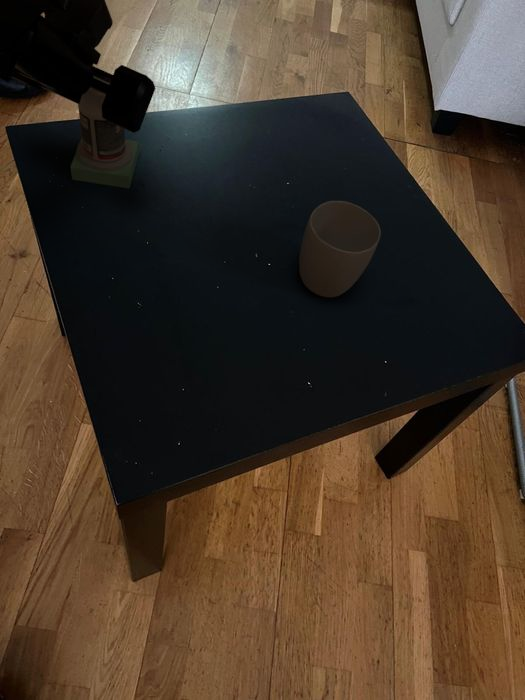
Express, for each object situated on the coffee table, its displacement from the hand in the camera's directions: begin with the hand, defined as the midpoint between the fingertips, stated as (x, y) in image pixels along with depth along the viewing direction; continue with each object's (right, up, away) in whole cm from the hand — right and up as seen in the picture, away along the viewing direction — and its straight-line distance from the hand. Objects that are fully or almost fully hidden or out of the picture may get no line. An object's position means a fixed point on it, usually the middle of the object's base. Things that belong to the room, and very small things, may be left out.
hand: (107, 99), depth 71 cm
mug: (+30, -22, +3) cm, 37 cm away
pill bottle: (-2, -5, +5) cm, 7 cm away
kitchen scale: (-2, -6, +7) cm, 10 cm away
